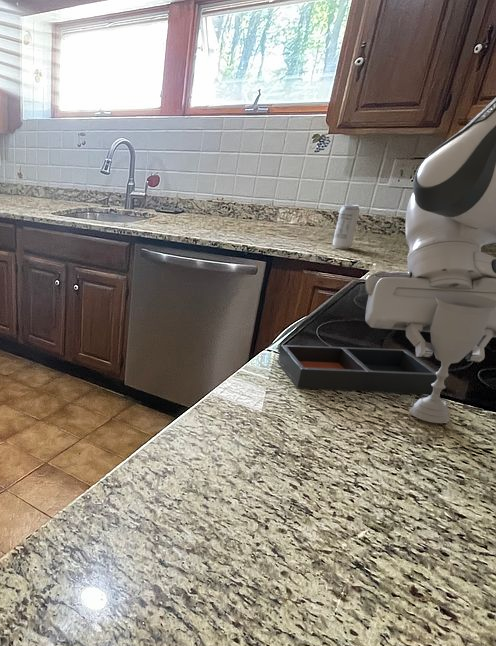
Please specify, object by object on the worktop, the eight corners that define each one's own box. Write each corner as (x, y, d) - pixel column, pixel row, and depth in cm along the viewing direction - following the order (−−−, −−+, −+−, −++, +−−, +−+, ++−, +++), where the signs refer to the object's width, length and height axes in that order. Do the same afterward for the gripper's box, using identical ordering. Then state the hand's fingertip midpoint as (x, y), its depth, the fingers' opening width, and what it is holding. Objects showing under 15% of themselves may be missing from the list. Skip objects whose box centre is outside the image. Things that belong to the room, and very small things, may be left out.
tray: (400, 367, 96) (406, 349, 95) (435, 394, 86) (442, 375, 85) (277, 362, 99) (280, 344, 98) (297, 388, 89) (301, 369, 88)
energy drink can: (354, 248, 189) (365, 205, 183) (340, 249, 188) (350, 206, 182) (341, 245, 195) (351, 203, 189) (328, 246, 194) (337, 204, 188)
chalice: (410, 399, 84) (444, 290, 76) (464, 414, 79) (504, 299, 72) (394, 414, 79) (428, 300, 72) (449, 431, 74) (491, 311, 67)
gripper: (372, 259, 80) (374, 342, 75) (540, 266, 73) (553, 357, 69) (358, 280, 85) (359, 358, 81) (513, 288, 79) (523, 373, 74)
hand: (449, 358), depth 75 cm, fingers closed on chalice, 5 cm apart
